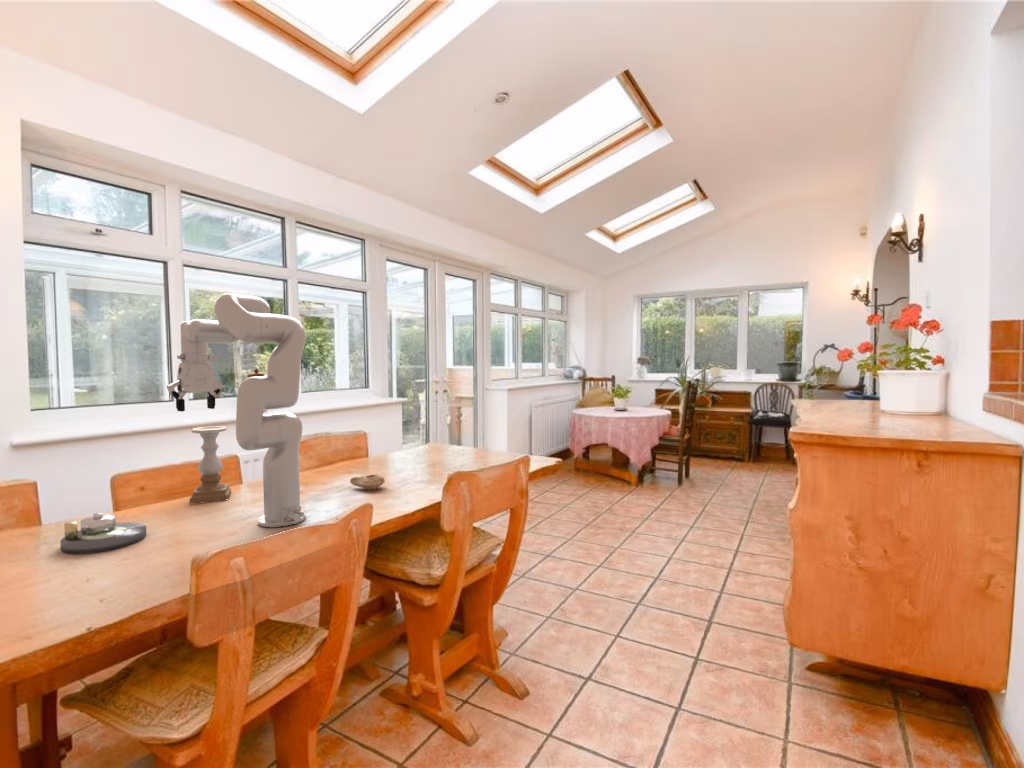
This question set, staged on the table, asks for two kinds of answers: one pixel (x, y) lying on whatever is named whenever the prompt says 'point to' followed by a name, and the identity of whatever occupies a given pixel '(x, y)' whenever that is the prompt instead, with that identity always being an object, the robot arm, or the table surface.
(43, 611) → the table surface
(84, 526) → the cover
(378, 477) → the pottery oil lamp
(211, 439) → the candle holder
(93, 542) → the turntable
